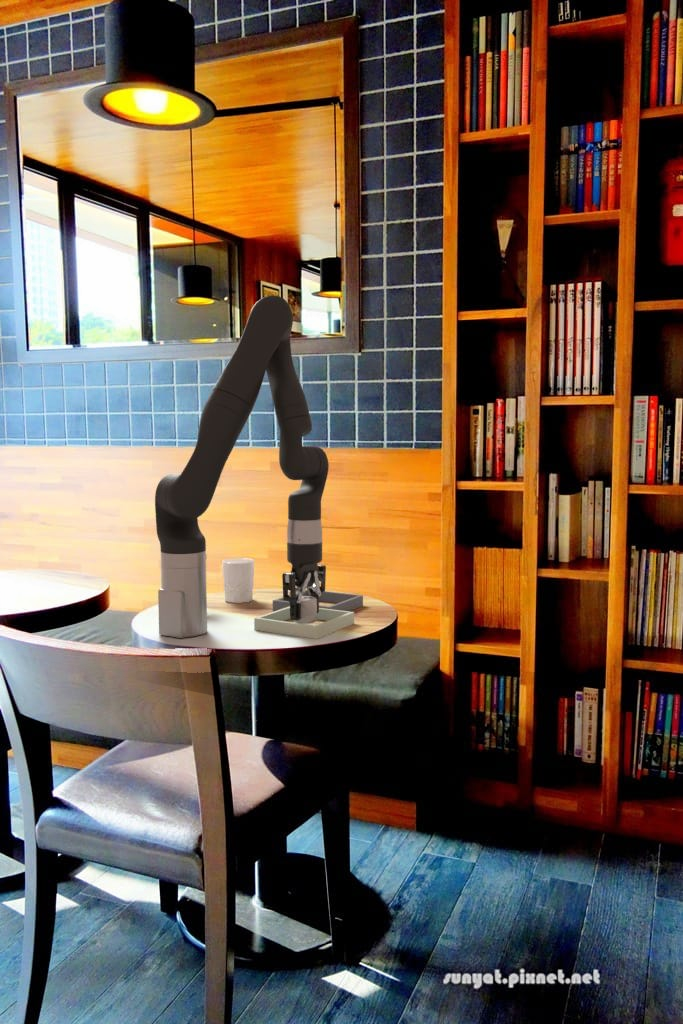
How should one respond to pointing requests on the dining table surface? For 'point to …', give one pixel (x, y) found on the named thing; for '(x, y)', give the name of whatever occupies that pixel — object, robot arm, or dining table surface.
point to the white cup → (238, 579)
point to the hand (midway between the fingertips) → (304, 616)
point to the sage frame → (278, 625)
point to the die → (308, 610)
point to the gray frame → (342, 599)
